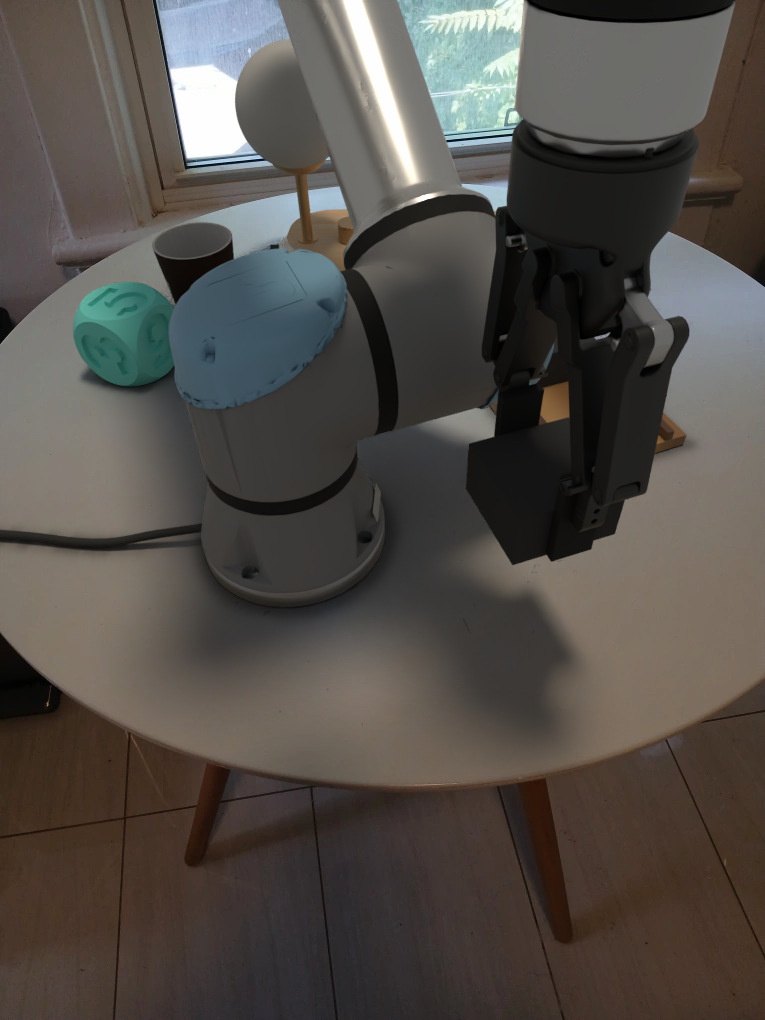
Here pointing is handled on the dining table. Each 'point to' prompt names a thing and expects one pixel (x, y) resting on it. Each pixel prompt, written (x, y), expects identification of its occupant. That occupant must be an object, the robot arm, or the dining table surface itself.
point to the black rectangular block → (524, 486)
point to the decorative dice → (125, 333)
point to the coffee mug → (191, 253)
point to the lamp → (290, 142)
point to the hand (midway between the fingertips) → (538, 507)
